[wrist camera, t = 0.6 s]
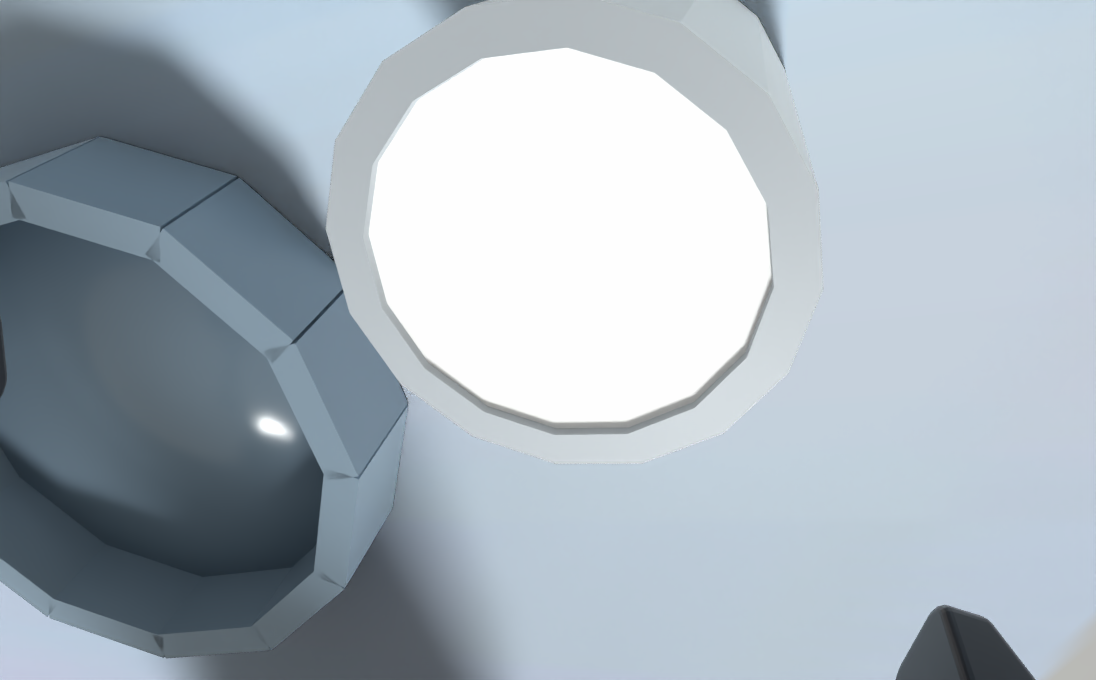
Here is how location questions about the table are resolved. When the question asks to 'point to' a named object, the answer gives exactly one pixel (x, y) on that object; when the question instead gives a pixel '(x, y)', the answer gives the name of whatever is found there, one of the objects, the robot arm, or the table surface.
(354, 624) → the table surface
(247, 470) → the bowl
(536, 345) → the shot glass
